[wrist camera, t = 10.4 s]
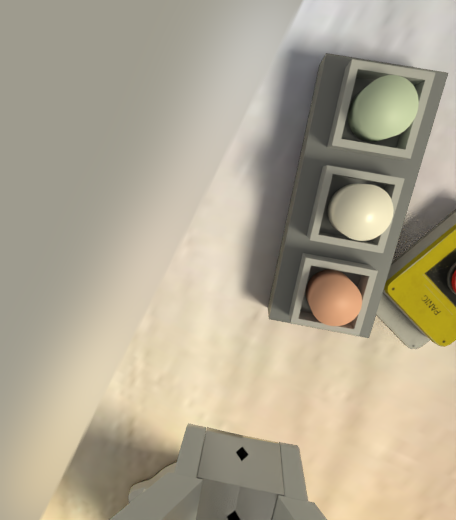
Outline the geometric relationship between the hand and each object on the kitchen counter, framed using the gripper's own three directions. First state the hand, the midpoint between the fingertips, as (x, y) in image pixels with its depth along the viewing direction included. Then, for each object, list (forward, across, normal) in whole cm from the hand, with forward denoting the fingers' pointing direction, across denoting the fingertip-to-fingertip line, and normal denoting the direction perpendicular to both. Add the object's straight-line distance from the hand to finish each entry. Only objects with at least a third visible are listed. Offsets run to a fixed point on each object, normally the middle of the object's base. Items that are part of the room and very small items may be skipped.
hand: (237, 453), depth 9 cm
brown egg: (+24, +8, -2) cm, 25 cm away
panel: (+27, +8, +6) cm, 29 cm away
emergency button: (+28, +20, +1) cm, 34 cm away
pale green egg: (+24, +8, +14) cm, 29 cm away
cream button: (+23, +8, +6) cm, 25 cm away
